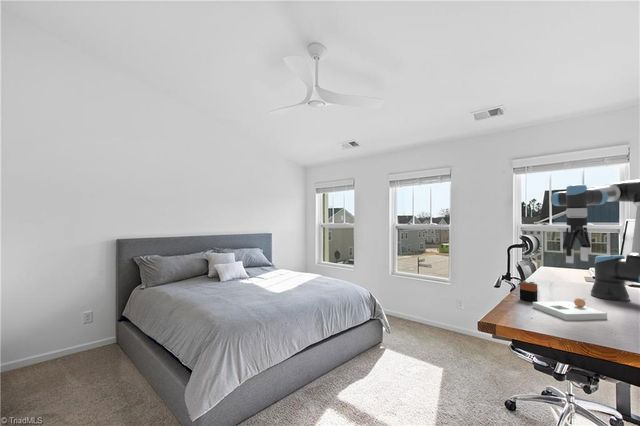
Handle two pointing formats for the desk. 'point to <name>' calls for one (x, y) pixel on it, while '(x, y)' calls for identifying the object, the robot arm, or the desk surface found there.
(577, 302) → the ball
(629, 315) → the desk surface
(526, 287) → the battery
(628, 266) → the robot arm
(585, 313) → the white flat square slab
